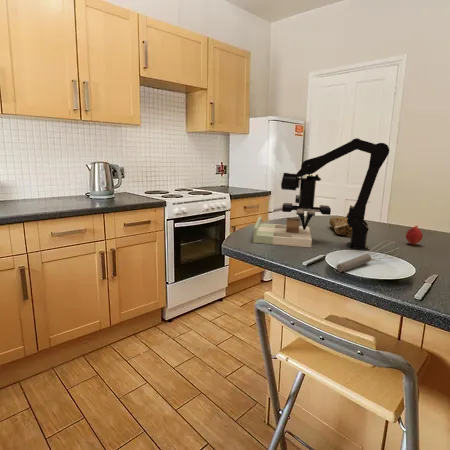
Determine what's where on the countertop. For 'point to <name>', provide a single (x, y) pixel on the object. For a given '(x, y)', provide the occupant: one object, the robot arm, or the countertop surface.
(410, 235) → the onion
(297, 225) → the block
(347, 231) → the sponge
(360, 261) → the kitchen whisk
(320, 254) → the countertop surface
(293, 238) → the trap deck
